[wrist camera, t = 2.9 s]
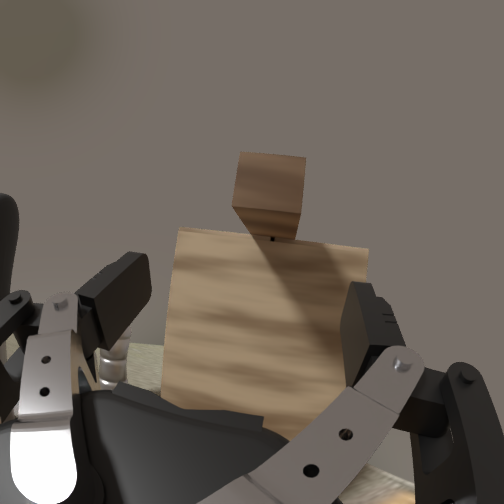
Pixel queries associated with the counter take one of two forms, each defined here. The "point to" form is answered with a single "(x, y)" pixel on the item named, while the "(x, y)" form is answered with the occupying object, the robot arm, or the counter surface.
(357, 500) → the counter surface
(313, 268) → the wooden block
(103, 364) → the plastic bottle
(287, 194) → the brown wooden bar
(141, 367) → the counter surface
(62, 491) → the robot arm
